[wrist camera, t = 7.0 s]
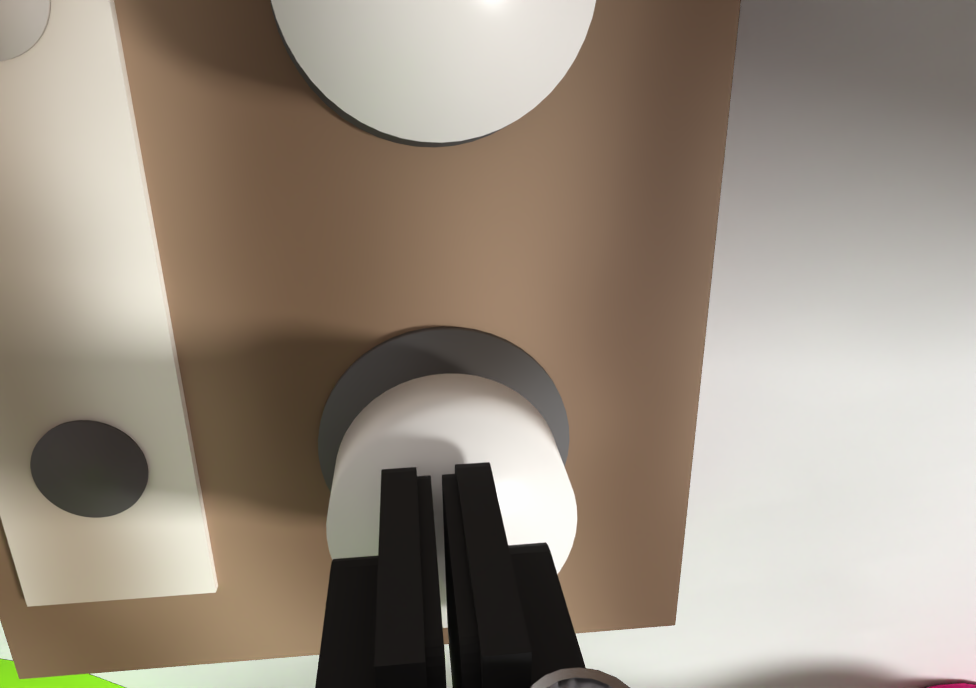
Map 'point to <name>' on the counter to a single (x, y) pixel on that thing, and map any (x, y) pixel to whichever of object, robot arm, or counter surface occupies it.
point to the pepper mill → (954, 686)
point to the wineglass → (49, 680)
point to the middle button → (435, 59)
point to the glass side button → (452, 463)
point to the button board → (325, 313)
